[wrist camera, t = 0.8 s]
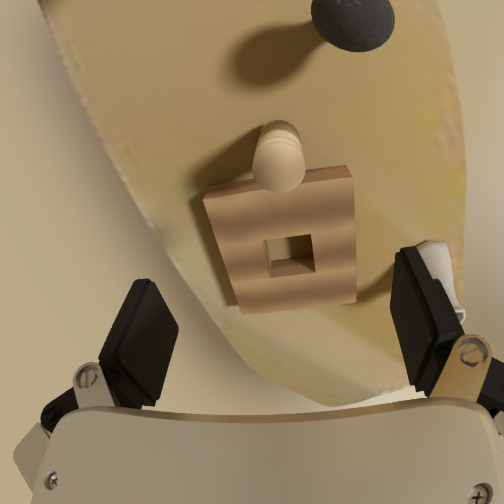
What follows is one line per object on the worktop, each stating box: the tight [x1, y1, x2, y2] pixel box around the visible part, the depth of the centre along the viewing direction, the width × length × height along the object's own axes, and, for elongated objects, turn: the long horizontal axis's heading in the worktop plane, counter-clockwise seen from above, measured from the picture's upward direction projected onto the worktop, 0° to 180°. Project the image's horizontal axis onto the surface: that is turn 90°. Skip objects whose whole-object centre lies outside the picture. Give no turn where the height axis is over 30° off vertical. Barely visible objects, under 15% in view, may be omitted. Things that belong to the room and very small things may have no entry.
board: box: [203, 165, 356, 315], centre depth 33 cm, size 16×14×3 cm
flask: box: [416, 241, 466, 324], centre depth 31 cm, size 7×7×10 cm
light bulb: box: [311, 0, 395, 52], centre depth 16 cm, size 6×6×10 cm
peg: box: [252, 120, 306, 193], centre depth 24 cm, size 4×4×9 cm
